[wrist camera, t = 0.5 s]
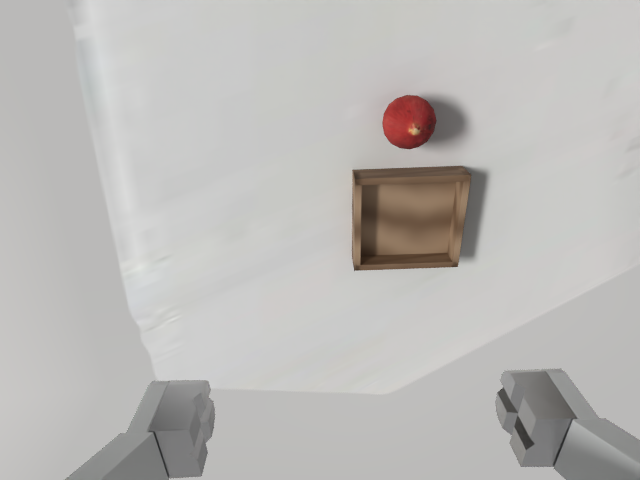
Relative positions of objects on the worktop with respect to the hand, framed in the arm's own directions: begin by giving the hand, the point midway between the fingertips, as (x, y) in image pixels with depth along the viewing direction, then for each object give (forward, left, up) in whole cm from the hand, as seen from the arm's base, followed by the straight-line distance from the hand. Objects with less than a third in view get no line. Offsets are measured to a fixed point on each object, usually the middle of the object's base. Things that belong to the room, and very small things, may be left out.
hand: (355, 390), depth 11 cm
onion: (+1, +9, -42) cm, 43 cm away
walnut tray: (+14, +10, -42) cm, 45 cm away
